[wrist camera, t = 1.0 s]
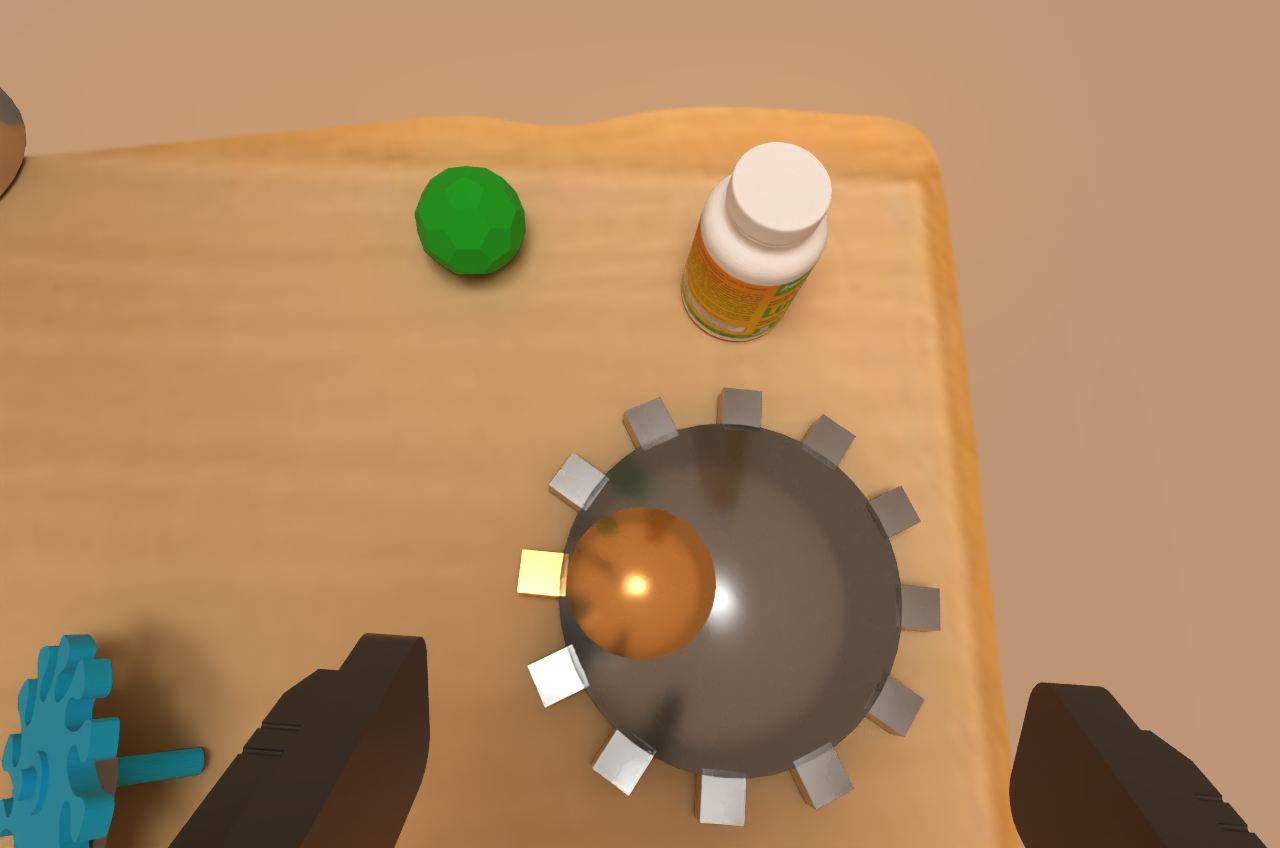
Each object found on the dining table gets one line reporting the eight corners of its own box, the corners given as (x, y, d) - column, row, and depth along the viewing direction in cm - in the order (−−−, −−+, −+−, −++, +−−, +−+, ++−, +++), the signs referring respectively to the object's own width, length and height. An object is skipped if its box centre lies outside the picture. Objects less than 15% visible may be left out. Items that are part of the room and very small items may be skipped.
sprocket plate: (456, 492, 36) (451, 484, 34) (806, 342, 40) (816, 329, 38) (628, 902, 32) (631, 915, 30) (999, 695, 36) (1020, 696, 34)
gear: (12, 618, 32) (89, 660, 25) (173, 617, 36) (275, 652, 29) (-49, 920, 30) (16, 1048, 23) (128, 880, 34) (226, 978, 28)
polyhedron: (404, 257, 39) (383, 205, 35) (463, 185, 40) (450, 126, 36) (489, 310, 39) (479, 264, 34) (545, 236, 40) (543, 182, 36)
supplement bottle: (756, 363, 39) (815, 272, 30) (660, 310, 40) (689, 204, 30) (803, 278, 41) (873, 166, 31) (710, 228, 41) (752, 103, 32)
